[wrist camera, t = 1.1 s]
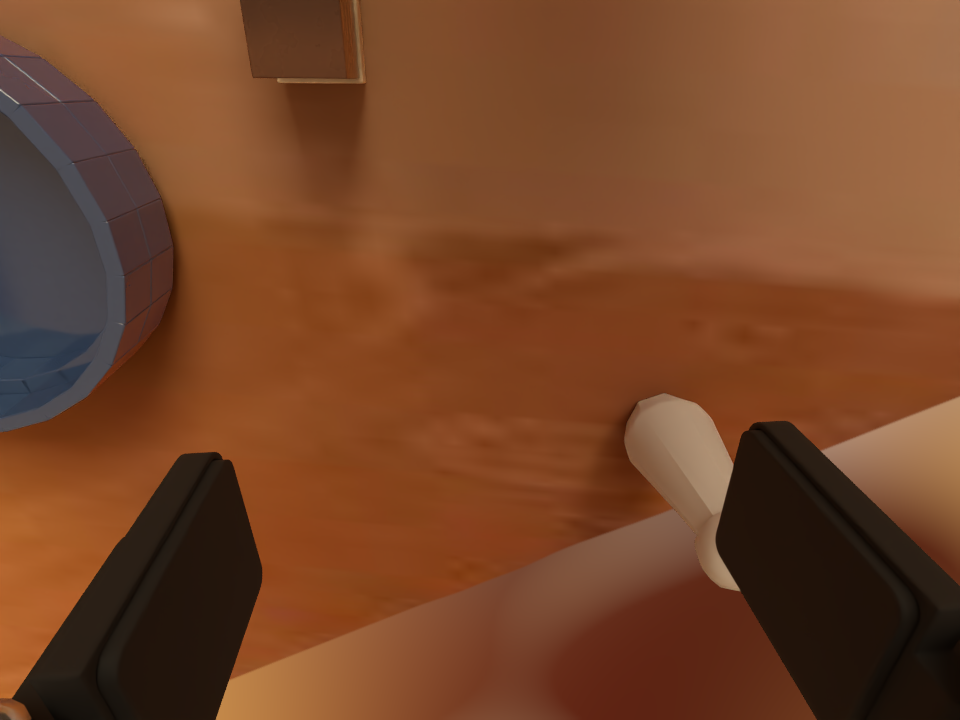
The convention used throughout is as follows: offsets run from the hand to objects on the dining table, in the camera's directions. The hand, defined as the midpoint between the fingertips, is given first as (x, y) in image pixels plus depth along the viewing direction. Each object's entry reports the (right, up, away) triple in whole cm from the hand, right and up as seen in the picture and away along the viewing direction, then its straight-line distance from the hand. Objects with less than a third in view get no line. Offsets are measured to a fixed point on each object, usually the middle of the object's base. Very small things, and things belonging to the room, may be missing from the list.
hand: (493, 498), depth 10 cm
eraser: (-8, +19, +15) cm, 26 cm away
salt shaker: (+12, -1, +27) cm, 30 cm away
